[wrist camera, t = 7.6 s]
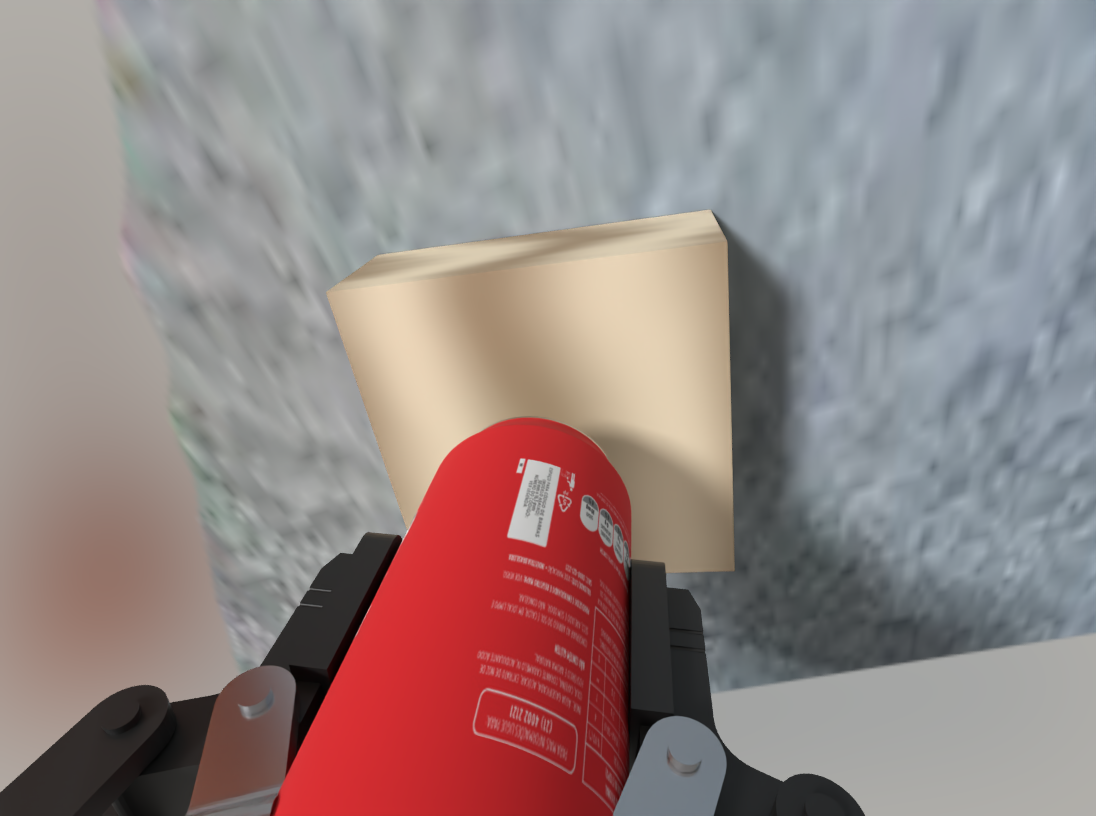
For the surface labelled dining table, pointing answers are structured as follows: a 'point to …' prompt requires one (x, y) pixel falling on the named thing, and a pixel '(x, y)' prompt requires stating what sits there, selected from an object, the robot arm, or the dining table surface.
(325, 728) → the beverage can
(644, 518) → the beech block
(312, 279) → the dining table surface
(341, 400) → the dining table surface
